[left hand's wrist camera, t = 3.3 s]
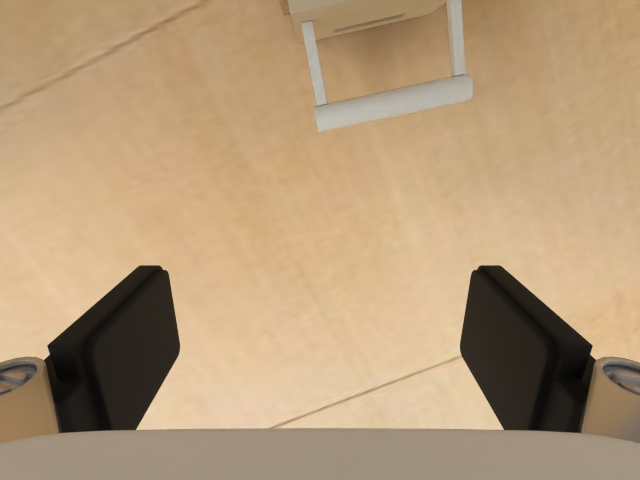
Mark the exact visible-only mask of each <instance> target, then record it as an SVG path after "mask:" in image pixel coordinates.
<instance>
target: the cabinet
mask: <svg viewBox="0 0 640 480" xmlns="http://www.w3.org/2000/svg"><path fill="white" fill-rule="evenodd" d="M279 1H280V4H281V7H282V10H283V13H284V15H286V14H289V13H290V10H289V5H288V0H279Z"/></svg>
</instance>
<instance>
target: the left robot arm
mask: <svg viewBox="0 0 640 480" xmlns="http://www.w3.org/2000/svg"><path fill="white" fill-rule="evenodd" d="M48 349H49V352H50V355H49V356H48V357H47V358H46V359H45V360H44V361H43V360H42V359H40V358H37V357H21V358H15V359H11V360H7V361H4V362H1V363H0V480H640V363H639V362H636V361H633V360H629V359H625V358H619V357H603V358H600V359H598V360H597V361H596V360H595V359H594V358H593V357H592V356H591V355H590V352H591V349H592V345H591V344H590V343H589V342H588V341H587V340H585V339H584V338H583V337H582V336H581V335H580V334H579V333H577V332H576V331H575V330H574V329H573V328H572V327H571V326H569V325H568V324H567V323H566V322H565V321H564V320H562V319H561V318H560V317H559V316H558V315H557V314H556V313H554V312H553V311H552V310H551V309H550V308H549V307H548V306H546V305H545V304H544V303H543V302H542V301H541V300H539V299H538V298H537V297H536V296H535V295H534V294H533V293H531V292H530V291H529V290H528V289H527V288H526V287H525V286H523V285H522V284H521V283H520V282H519V281H518V280H516V279H515V278H514V277H513V276H512V275H511V274H510V273H508V272H507V271H506V270H505V269H504V268H503V267H501V266H479V267H478V269H477V270H474V271H473V272H472V274H471V279H470V286H469V292H468V298H467V304H466V310H465V317H464V323H463V329H462V335H461V342H460V351H461V355H462V357H463V359H464V361H465V362H466V364H467V366H468V368H469V369H470V371H471V373H472V374H473V376H474V378H475V380H476V381H477V383H478V385H479V387H480V388H481V390H482V392H483V394H484V395H485V397H486V399H487V401H488V402H489V404H490V406H491V408H492V409H493V411H494V413H495V415H496V416H497V418H498V420H499V422H500V423H501V425H502V427H503V428H504V430H472V429H345V428H295V429H168V430H136V428H137V427H138V425H139V423H140V422H141V420H142V418H143V416H144V415H145V413H146V411H147V409H148V408H149V406H150V404H151V402H152V401H153V399H154V397H155V395H156V394H157V392H158V390H159V388H160V387H161V385H162V383H163V381H164V380H165V378H166V376H167V374H168V373H169V371H170V369H171V368H172V366H173V364H174V362H175V361H176V359H177V357H178V355H179V351H180V342H179V335H178V329H177V323H176V317H175V310H174V304H173V298H172V292H171V286H170V279H169V274H168V272H167V271H166V270H163V269H162V267H161V266H139V267H137V268H136V269H135V270H134V271H133V272H132V273H130V274H129V275H128V276H127V277H126V278H125V279H124V280H122V281H121V282H120V283H119V284H118V285H117V286H115V287H114V288H113V289H112V290H111V291H110V292H109V293H107V294H106V295H105V296H104V297H103V298H102V299H101V300H99V301H98V302H97V303H96V304H95V305H94V306H92V307H91V308H90V309H89V310H88V311H87V312H86V313H84V314H83V315H82V316H81V317H80V318H79V319H78V320H76V321H75V322H74V323H73V324H72V325H71V326H69V327H68V328H67V329H66V330H65V331H64V332H63V333H61V334H60V335H59V336H58V337H57V338H56V339H55V340H53V341H52V342H51V343H50V344H49V345H48Z"/></svg>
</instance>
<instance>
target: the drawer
mask: <svg viewBox="0 0 640 480" xmlns="http://www.w3.org/2000/svg"><path fill="white" fill-rule="evenodd" d="M445 2H446V3H447V18H448V32H449V47H450V62H451V76H452V77H449V78H444V79H440V80H435V81H430V82H426V83H421V84H417V85H412V86H407V87H403V88H398V89H393V90H389V91H384V92H380V93H375V94H370V95H366V96H361V97H357V98H352V99H347V100H343V101H338V102H334V103H329V104H327V98H326V93H325V87H324V82H323V76H322V71H321V65H320V60H319V54H318V49H317V44H316V40H320V39H324V38H328V37H333V36H337V35H341V34H346V33H350V32H355V31H359V30H363V29H368V28H372V27H376V26H381V25H385V24H390V23H394V22H398V21H403V20H407V19H412V18H416V17H420V16H425V15H429V14H432V13H433V12H434V11H436V10H437V9H438V8H439V7H441V6H442V5H443V4H444V3H445ZM288 5H289V10H290V14H291V18H292V22H293V25H294V29H295V32H296V36H297V40H298V43H299V44H302V43H305V47H306V52H307V58H308V63H309V68H310V73H311V78H312V83H313V89H314V94H315V99H316V104H317V106H315V107H314V113H315V118H316V123H317V128H318V132H319V133H320V132H324V131H329V130H334V129H338V128H343V127H348V126H353V125H357V124H362V123H367V122H371V121H376V120H381V119H386V118H390V117H395V116H400V115H404V114H409V113H414V112H419V111H423V110H428V109H433V108H437V107H442V106H447V105H452V104H456V103H461V102H466V101H469V100H471V98H472V96H473V81H472V78H471V76H470V74H465V73H466V71H465V54H464V36H463V18H462V0H288Z"/></svg>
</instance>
